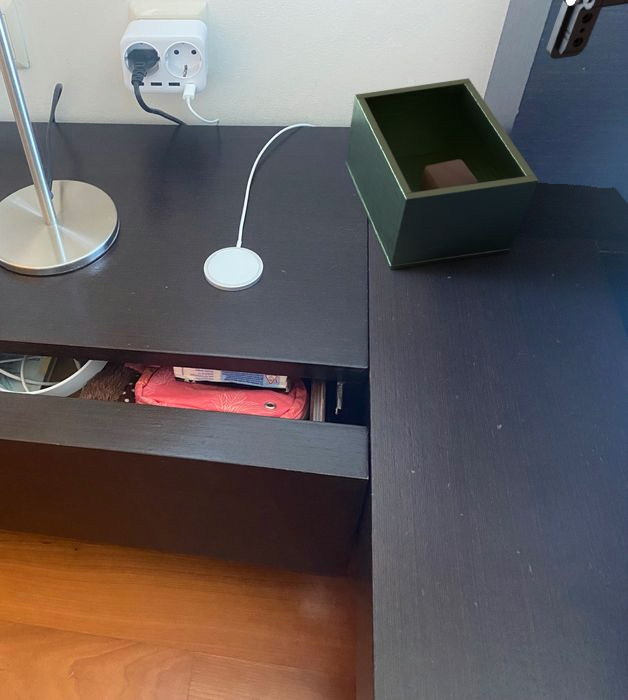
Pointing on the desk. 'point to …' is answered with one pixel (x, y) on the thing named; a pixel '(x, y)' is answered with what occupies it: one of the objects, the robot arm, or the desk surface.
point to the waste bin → (427, 149)
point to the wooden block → (446, 175)
